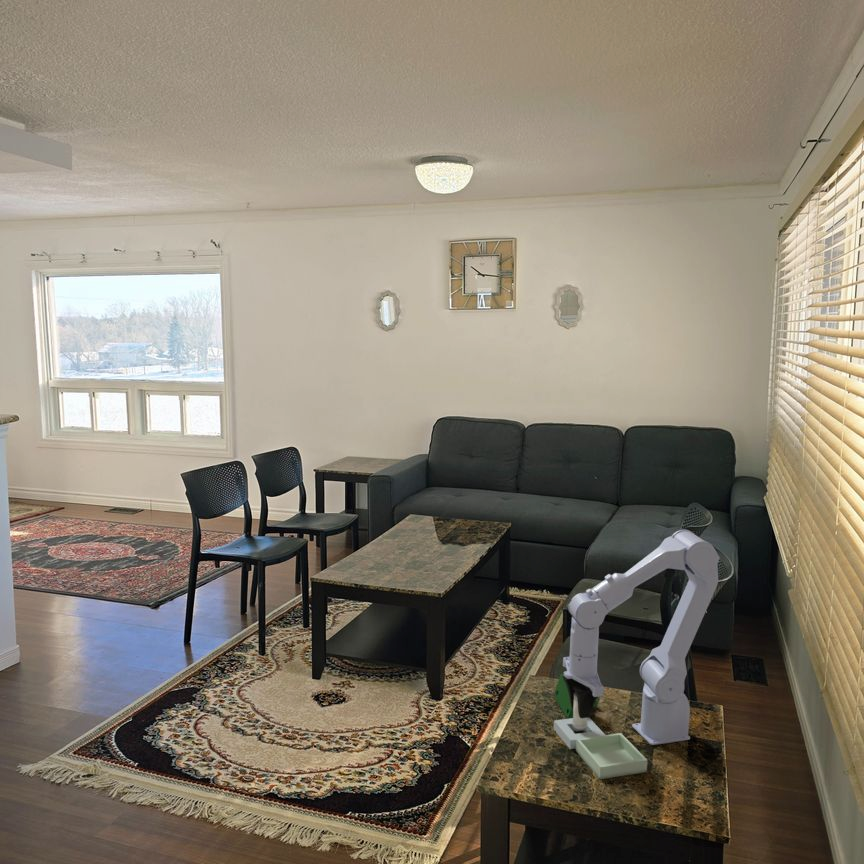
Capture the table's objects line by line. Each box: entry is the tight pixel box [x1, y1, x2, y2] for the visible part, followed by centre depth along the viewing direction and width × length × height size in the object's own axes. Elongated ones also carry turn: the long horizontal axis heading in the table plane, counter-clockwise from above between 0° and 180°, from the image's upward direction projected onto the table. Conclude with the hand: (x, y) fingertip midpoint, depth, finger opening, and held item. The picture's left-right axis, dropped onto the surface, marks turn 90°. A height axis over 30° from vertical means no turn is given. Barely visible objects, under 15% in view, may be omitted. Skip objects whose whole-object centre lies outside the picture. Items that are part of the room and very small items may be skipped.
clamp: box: [554, 673, 599, 719], centre depth 175 cm, size 12×6×9 cm, turn 0°
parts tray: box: [575, 732, 648, 780], centre depth 155 cm, size 10×10×2 cm
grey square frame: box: [553, 717, 606, 750], centre depth 164 cm, size 8×8×2 cm
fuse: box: [572, 692, 588, 730], centre depth 163 cm, size 3×3×7 cm
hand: (580, 712), depth 163 cm, fingers closed on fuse, 3 cm apart
